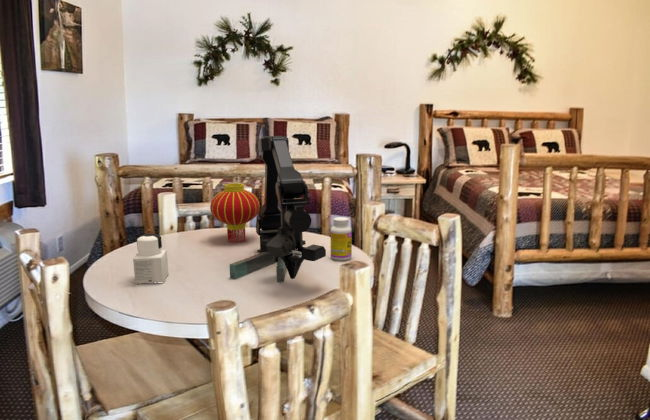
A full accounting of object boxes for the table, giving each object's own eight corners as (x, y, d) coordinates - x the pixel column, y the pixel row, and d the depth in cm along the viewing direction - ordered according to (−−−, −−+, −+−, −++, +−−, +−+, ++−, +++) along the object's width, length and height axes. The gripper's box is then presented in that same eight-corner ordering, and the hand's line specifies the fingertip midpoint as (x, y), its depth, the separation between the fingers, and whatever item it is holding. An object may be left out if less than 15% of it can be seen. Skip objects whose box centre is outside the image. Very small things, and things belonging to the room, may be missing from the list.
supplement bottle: (349, 261, 172) (349, 221, 169) (328, 260, 173) (328, 220, 171) (353, 255, 178) (353, 216, 176) (332, 254, 180) (332, 215, 177)
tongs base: (230, 277, 158) (229, 262, 157) (277, 259, 176) (277, 245, 175) (239, 280, 156) (239, 265, 155) (287, 261, 173) (287, 247, 173)
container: (141, 275, 161) (138, 232, 158) (168, 274, 162) (165, 231, 159) (135, 284, 154) (131, 239, 151) (163, 283, 154) (160, 238, 151)
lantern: (201, 242, 196) (196, 157, 190) (236, 232, 210) (232, 152, 203) (237, 249, 186) (233, 160, 180) (270, 238, 200) (268, 155, 194)
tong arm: (276, 282, 153) (276, 268, 153) (281, 262, 171) (280, 249, 170) (284, 282, 154) (283, 268, 153) (287, 262, 171) (287, 249, 170)
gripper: (245, 225, 148) (247, 280, 152) (301, 234, 138) (302, 294, 141) (272, 217, 157) (273, 269, 161) (326, 225, 147) (327, 281, 150)
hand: (292, 278), depth 153 cm, fingers closed
